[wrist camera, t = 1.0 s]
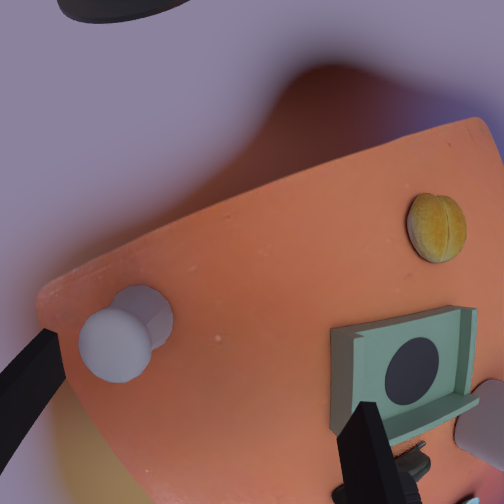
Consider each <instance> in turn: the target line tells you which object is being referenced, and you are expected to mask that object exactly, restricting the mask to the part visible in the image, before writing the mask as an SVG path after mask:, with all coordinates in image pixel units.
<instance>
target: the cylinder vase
mask: <svg viewBox="0 0 504 504" xmlns="http://www.w3.org/2000/svg"><path fill="white" fill-rule="evenodd" d="M472 394H473V395H476V396H478V397H480V400H479V404H478V405H476V406H474V407H472V408H471V409H469V410H467V411H465V412H464V413H462V414H460V415H459V417H458V420H457V423H456V427H455V442H456V444H457V446H458V447H459V448H461V449H463V450H465V451H466V452H468V453H470V454H472V455H473V456H475V457H477V458H479V459H481V460H482V461H484V462H486V463H488V464H490V465H491V466H493V467H495V468H497V469H499V470H501V471H503V472H504V382H502V381H499V380H496V379H490V380H487V381H485V382H484V383H482V384H481V385H480V386H478V387H477V388H476V389H475V391H474V392H473V393H472Z"/></svg>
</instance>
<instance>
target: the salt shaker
mask: <svg viewBox="0 0 504 504" xmlns="http://www.w3.org/2000/svg"><path fill="white" fill-rule="evenodd" d="M173 320H174V317H173V314H172V310H171V307H170V304H169V302H168V301H167V300H166V299H165V298H164V296H163V295H162V294H161V293H160V292H159V291H157V290H155V289H153V288H150V287H148V286H146V285H135V286H129V287H127V288H125V289H123V290H121V291H119V292H118V293H117V294H116V296H115V297H114V299H113V301H112V302H111V304H110V306H109V308H104V309H102V310H100V311H98V312H96V313H94V314H92V315H91V316H89V318H88V319H87V321H86V322H85V324H84V326H83V327H82V329H81V331H80V334H79V346H78V348H79V351H80V354H81V356H82V359H83V362H84V364H85V365H86V366H87V367H88V368H89V369H90V371H91V372H92V373H93V374H94V375H95V376H97V377H99V378H101V379H103V380H106V381H108V382H113V383H126V382H128V381H130V380H132V379H133V378H135V377H137V376H139V375H140V374H141V373H142V372H143V371H144V369H145V368H146V366H147V365H148V363H149V362H150V360H151V352H152V350H154V349H156V348H158V347H159V346H161V345H163V344H164V343H165V341H166V340H167V339H168V337H169V336H170V334H171V333H172V327H173Z"/></svg>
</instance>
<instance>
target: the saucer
mask: <svg viewBox="0 0 504 504" xmlns="http://www.w3.org/2000/svg"><path fill="white" fill-rule="evenodd" d="M461 504H479V498H478V497H475V498H472V499H469V500H467V501H465V502H463V503H461Z"/></svg>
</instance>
